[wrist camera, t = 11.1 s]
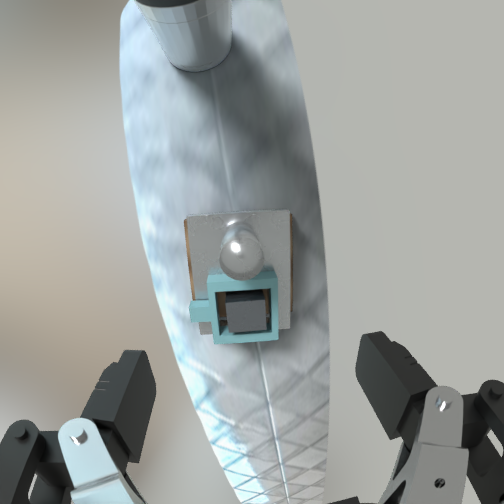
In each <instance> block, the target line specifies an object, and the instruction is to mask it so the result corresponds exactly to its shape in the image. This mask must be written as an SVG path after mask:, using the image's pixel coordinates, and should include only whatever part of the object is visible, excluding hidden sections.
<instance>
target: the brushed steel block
mask: <svg viewBox="0 0 504 504" xmlns="http://www.w3.org/2000/svg"><path fill="white" fill-rule="evenodd" d="M225 305H226V314H227V322H228V330H229V333H234V332H246V331H257V330H267V326H266V308H265V297H264V294H263V290H262V289H254V290H239V291H226V297H225Z"/></svg>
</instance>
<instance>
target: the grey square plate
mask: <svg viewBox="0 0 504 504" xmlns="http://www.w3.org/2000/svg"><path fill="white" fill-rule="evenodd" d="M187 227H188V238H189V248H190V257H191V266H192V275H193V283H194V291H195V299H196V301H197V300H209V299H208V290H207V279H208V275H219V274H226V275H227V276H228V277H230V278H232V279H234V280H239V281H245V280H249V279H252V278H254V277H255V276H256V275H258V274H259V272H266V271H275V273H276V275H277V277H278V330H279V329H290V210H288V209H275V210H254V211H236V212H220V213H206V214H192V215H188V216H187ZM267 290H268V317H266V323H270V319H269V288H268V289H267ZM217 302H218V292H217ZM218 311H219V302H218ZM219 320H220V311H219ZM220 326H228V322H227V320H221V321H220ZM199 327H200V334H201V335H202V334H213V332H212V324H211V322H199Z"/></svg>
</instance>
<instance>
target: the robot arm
mask: <svg viewBox="0 0 504 504" xmlns="http://www.w3.org/2000/svg"><path fill="white" fill-rule="evenodd" d="M134 1H135V3H136V5H137V6H138V8H139V10H140V11H141V13H142V14H143V16H144V18H145V20H146V21H147V23H148V25H149V26H150V28H151V30H152V32H153V33H154V35H155V37H156V38H157V40H158V42H159V44H160V45H161V47H162V49H163V51H164V52H165V54H166V56H167V58H168V59H169V61H170V62H171V63H172V64H173V65H174V66H175V67H177V68H179V69H181V70H184V71H190V72H199V71H204V70H208V69H210V68H213V67H215V66H216V65H218V64H219V63H221V62H222V61H223V60H224V59H225V58H226V56H227V55H228V53H229V51H230V49H231V35H232V0H134ZM356 377H357V380H358V382H359V384H360V385H361V387H362V389H363V391H364V393H365V394H366V396H367V398H368V400H369V402H370V404H371V405H372V407H373V409H374V411H375V413H376V415H377V417H378V418H379V420H380V422H381V424H382V426H383V428H384V430H385V432H386V433H387V435H388V437H389V439H390V440H392V439H395V438H398V437H402V439H403V442H402V444H401V447H400V450H399V454H398V457H397V460H396V463H395V466H394V469H393V472H392V475H391V478H390V481H389V483H388V486H387V488H386V490H385V491H384V493H383V495H382V497H381V498H380V500H379V502H378V504H461V503H462V498H463V493H464V487H465V481H466V475H467V476H468V478H469V480H470V482H471V484H472V486H473V488H474V490H475V492H476V494H477V496H478V498H479V500H480V502H481V504H504V451H503V456H502V457H501V456H500V455H499V453H498V452H497V450H496V449H495V447H494V445H493V444H492V443H491V441H490V439H489V438H488V436H487V434H488V433H489V431H490V430H491V429H492V431H493V432H494V434H495V435H496V437H497V438H498V440H499V441H500V442H501V444H502V446H503V450H504V383H502V382H500V381H497V380H488V381H486V382H484V383H483V384H482V386H481V387H480V389H479V391H478V393H474V394H468V395H460V393H459V392H458V391H456V390H455V389H453V388H451V387H447V386H437V385H436V383H435V382H434V381H433V380H432V379H431V377H430V376H429V375H428V374H427V372H426V371H425V370H424V369H423V368H422V367H421V365H420V364H418V363H417V361H416V359H415V358H414V357H412V355H411V354H410V352H409V351H408V350H407V349H406V348H405V347H404V346H402V345H400V344H398V343H397V342H395V341H393V342H391V341H390V340H389V338H388V337H387V336H386V335H385V334H384V333H383V332H382V331H379V332H374V333H368V334H363V335H362V337H361V341H360V346H359V351H358V357H357V362H356ZM155 397H156V383H155V379H154V376H153V373H152V370H151V367H150V363H149V360H148V357H147V354H146V352H145V351H143V350H125V351H124V352H123V354H122V356H121V358H120V360H119V362H118V363H116V362H113V363H112V364H111V365H110V366H108V367H107V368H106V369H105V370H104V371H103V373H102V375H101V377H100V379H99V382H98V383H97V384H96V386H95V390H94V391H93V392H92V394H91V396H90V398H89V400H88V402H87V404H86V406H85V408H84V410H83V413H82V415H81V417H80V418H75V419H72V420H69V421H68V422H66V423H65V424H64V425H63V426H62V427H61V428H60V430H59V431H39V430H38V428H37V427H36V425H35V424H34V423H33V422H31V421H29V420H19V421H16V422H15V423H13V424H12V425H11V426H10V427H9V429H8V430H7V432H6V434H5V435H4V438H3V439H2V441H1V443H0V504H71V499H72V500H73V503H74V504H148V503H147V502H146V501H145V499H144V497H143V496H142V495H141V493H140V491H139V490H138V488H137V487H136V485H135V484H134V482H133V480H132V479H131V477H130V476H129V474H128V472H127V471H126V467H127V463H128V462H133V463H139V461H140V456H141V451H142V448H143V444H144V439H145V435H146V431H147V427H148V423H149V420H150V416H151V412H152V408H153V404H154V401H155ZM34 474H36V475H37V479H36V481H35V484H34V487H33V490H32V493H31V496H30V500H29V499H28V492H29V489H30V486H31V483H32V480H33V477H34ZM329 504H375V503H359V500H358V497H357V496H356V497H352V498H349V499H345V500H341V501H337V502H333V503H329Z"/></svg>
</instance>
